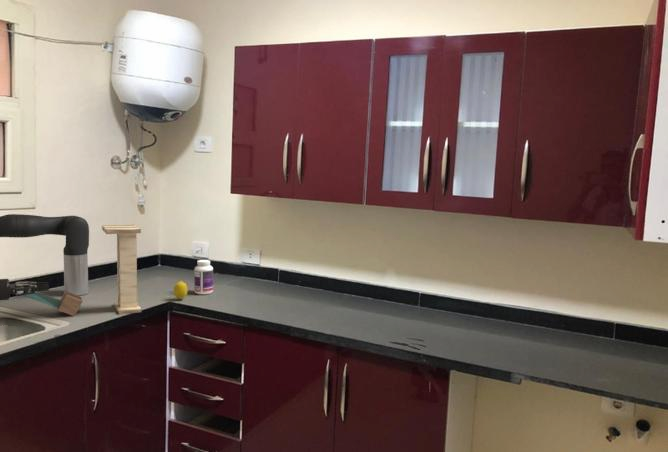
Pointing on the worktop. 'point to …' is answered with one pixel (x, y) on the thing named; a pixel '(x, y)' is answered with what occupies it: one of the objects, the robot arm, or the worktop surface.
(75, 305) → the mallet
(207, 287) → the pill bottle
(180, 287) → the lemon
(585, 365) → the worktop surface
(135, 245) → the stand
